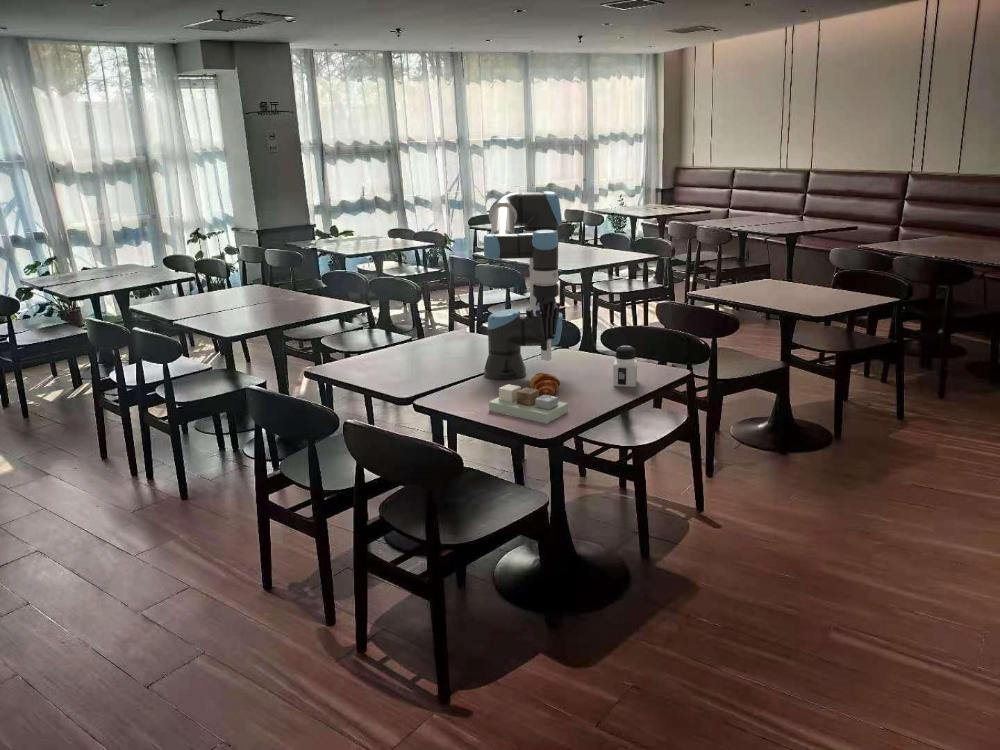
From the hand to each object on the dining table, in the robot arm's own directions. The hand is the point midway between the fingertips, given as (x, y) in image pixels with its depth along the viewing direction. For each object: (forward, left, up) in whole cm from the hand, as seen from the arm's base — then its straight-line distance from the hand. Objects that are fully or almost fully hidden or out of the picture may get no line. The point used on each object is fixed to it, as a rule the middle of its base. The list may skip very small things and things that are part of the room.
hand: (546, 359), depth 247 cm
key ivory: (-14, 0, -16) cm, 21 cm away
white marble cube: (0, 0, -17) cm, 17 cm away
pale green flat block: (-7, 0, -18) cm, 19 cm away
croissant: (-14, +20, -18) cm, 31 cm away
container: (+5, +42, -18) cm, 46 cm away
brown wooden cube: (-7, 0, -16) cm, 18 cm away
